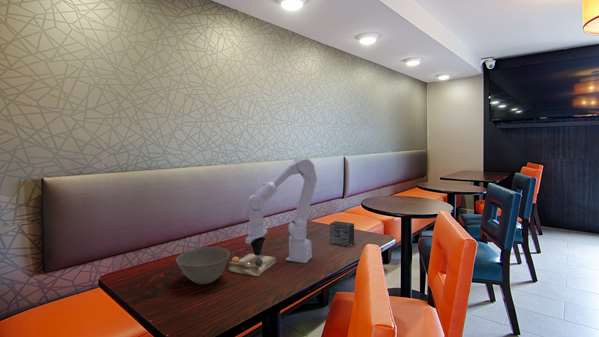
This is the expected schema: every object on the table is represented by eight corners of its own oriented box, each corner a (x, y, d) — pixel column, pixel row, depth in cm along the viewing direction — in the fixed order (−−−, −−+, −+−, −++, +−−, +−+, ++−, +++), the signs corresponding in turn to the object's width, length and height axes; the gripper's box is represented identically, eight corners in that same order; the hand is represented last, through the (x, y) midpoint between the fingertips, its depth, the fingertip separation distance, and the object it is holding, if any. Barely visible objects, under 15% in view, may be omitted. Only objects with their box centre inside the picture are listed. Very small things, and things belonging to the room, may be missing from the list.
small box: (354, 243, 156) (354, 222, 155) (349, 247, 151) (349, 226, 150) (335, 240, 162) (335, 220, 161) (329, 244, 156) (329, 223, 156)
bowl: (176, 276, 121) (175, 251, 120) (225, 267, 129) (225, 244, 128) (178, 298, 104) (177, 269, 103) (235, 287, 111) (234, 259, 111)
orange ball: (240, 263, 128) (240, 256, 128) (236, 266, 125) (236, 258, 125) (234, 262, 129) (234, 255, 129) (230, 264, 126) (230, 257, 126)
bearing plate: (275, 262, 134) (275, 254, 134) (257, 276, 120) (257, 267, 120) (249, 258, 139) (249, 250, 139) (229, 271, 125) (228, 262, 125)
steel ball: (246, 271, 124) (250, 271, 127) (250, 263, 124) (255, 264, 127) (241, 266, 126) (246, 267, 128) (245, 259, 126) (250, 260, 129)
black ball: (264, 265, 126) (264, 257, 125) (260, 267, 123) (260, 260, 123) (257, 264, 127) (257, 256, 127) (253, 266, 124) (253, 259, 124)
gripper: (257, 218, 140) (258, 248, 142) (238, 227, 127) (239, 259, 128) (271, 219, 138) (271, 250, 139) (253, 228, 124) (254, 262, 125)
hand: (257, 255), depth 133 cm, fingers closed
